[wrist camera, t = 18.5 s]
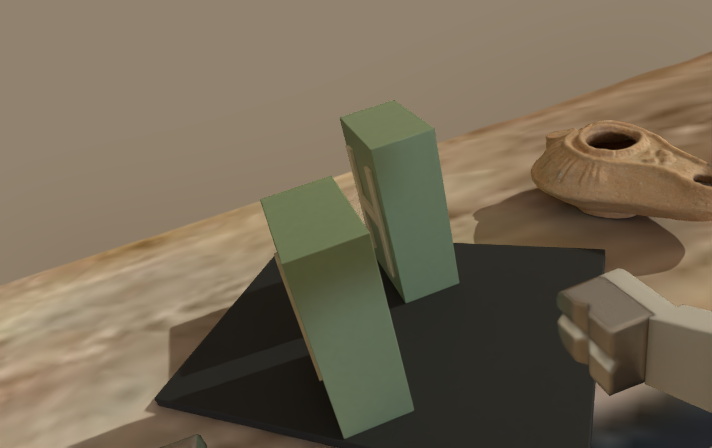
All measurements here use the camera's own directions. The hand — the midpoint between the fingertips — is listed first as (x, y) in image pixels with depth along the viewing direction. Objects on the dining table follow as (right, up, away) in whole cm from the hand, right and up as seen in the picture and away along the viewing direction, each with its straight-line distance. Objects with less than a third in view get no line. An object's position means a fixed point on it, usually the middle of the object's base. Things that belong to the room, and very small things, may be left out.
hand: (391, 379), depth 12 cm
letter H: (+3, +1, +23) cm, 23 cm away
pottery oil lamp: (+17, +4, +24) cm, 30 cm away
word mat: (+1, -3, +20) cm, 20 cm away
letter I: (-1, -5, +16) cm, 17 cm away
